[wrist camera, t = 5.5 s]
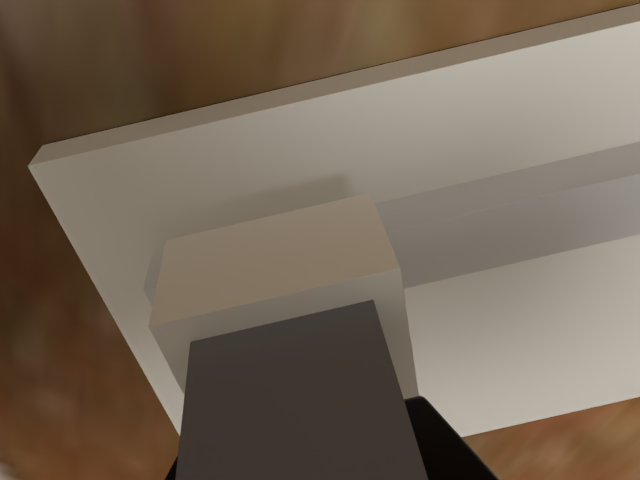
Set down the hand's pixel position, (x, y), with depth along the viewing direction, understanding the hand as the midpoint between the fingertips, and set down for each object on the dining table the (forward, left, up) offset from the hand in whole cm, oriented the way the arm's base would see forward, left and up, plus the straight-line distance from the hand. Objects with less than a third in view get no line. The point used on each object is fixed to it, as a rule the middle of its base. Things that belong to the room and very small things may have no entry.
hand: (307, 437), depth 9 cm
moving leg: (-2, 0, -5) cm, 5 cm away
